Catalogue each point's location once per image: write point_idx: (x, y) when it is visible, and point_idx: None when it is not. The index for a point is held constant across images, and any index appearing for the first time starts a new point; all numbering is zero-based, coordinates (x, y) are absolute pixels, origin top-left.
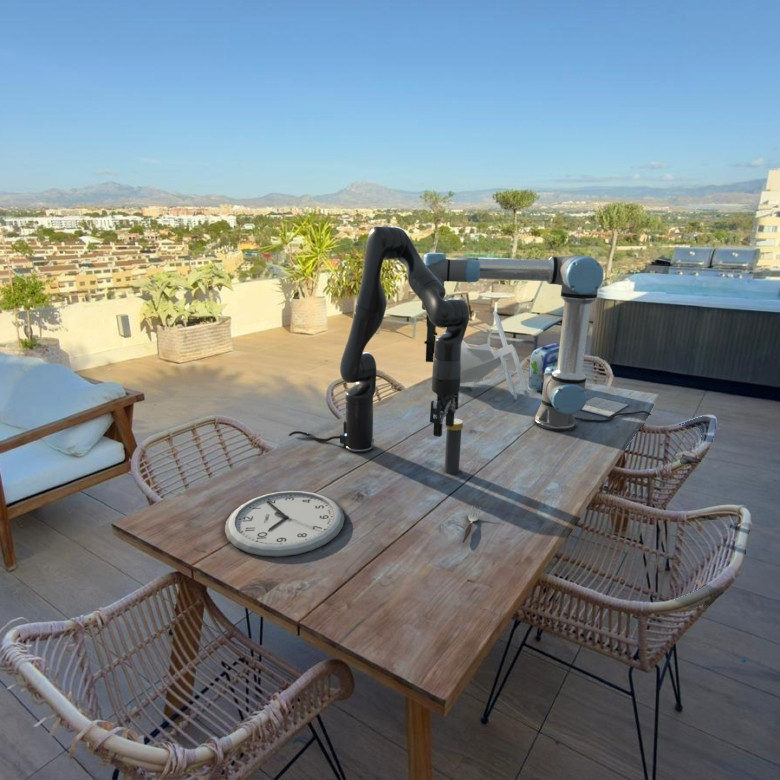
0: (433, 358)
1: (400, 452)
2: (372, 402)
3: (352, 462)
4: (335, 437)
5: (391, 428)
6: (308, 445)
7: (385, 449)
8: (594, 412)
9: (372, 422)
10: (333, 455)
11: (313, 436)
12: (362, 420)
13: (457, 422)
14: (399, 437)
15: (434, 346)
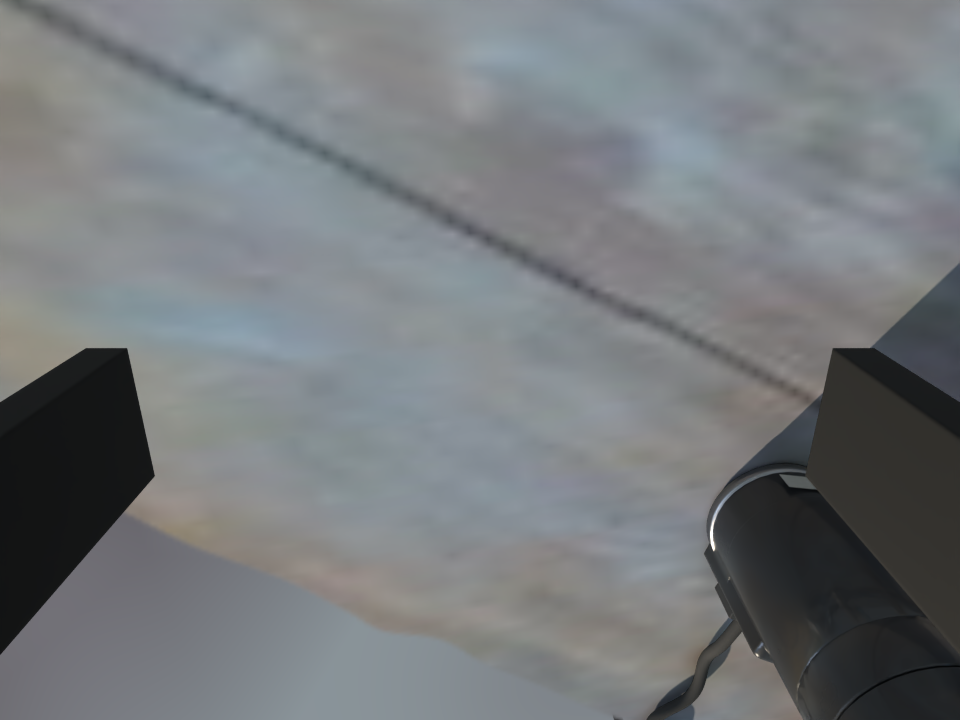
0: (896, 375)
1: (837, 328)
2: (957, 658)
3: None
4: (735, 637)
5: (499, 407)
6: (746, 699)
7: (795, 404)
8: None
9: (868, 554)
10: None
11: (682, 707)
12: None
13: None
14: (629, 352)
15: (39, 425)
